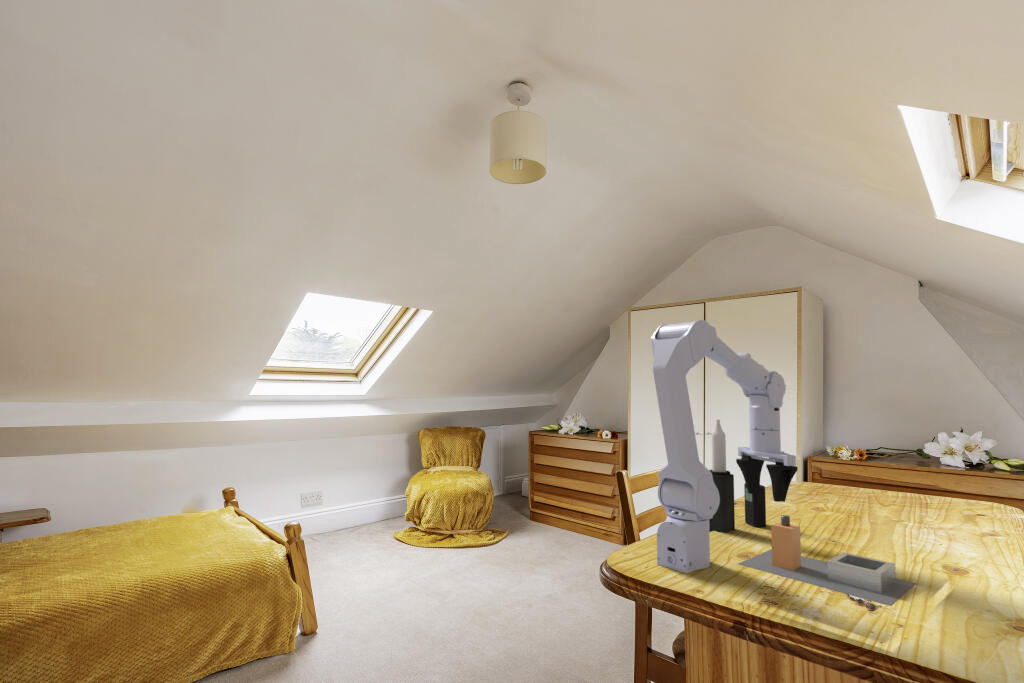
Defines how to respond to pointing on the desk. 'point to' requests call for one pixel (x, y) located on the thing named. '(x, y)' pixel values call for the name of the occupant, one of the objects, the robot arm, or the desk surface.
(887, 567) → the end holder
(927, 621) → the desk surface
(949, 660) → the desk surface
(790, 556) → the connector plug
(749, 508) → the walkie-talkie
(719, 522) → the black nozzle bottle
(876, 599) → the mat
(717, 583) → the desk surface
